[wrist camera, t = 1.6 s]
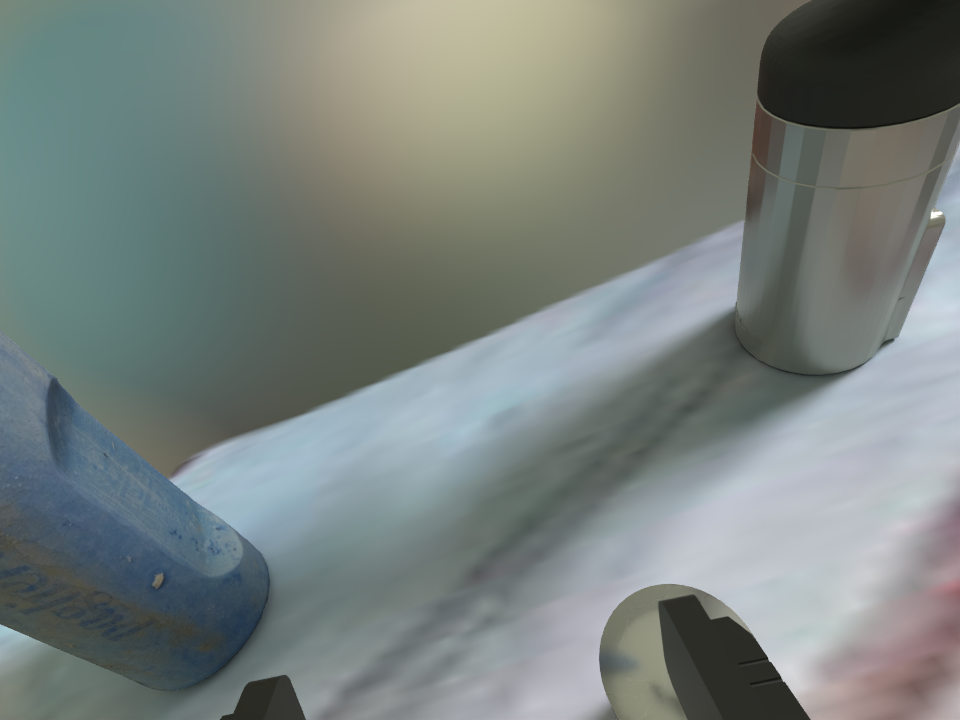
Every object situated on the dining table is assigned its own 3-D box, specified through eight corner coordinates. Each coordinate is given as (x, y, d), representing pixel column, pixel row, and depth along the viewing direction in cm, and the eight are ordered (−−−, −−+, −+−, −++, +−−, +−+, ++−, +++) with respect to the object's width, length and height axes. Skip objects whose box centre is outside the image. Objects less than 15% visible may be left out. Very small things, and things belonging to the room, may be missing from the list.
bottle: (138, 593, 39) (-461, 249, 19) (263, 519, 40) (-165, 129, 20) (135, 728, 32) (-822, 409, 12) (287, 631, 33) (-328, 207, 13)
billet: (710, 659, 27) (724, 568, 18) (759, 785, 23) (804, 744, 15) (612, 680, 27) (582, 602, 19) (646, 806, 24) (627, 779, 15)
